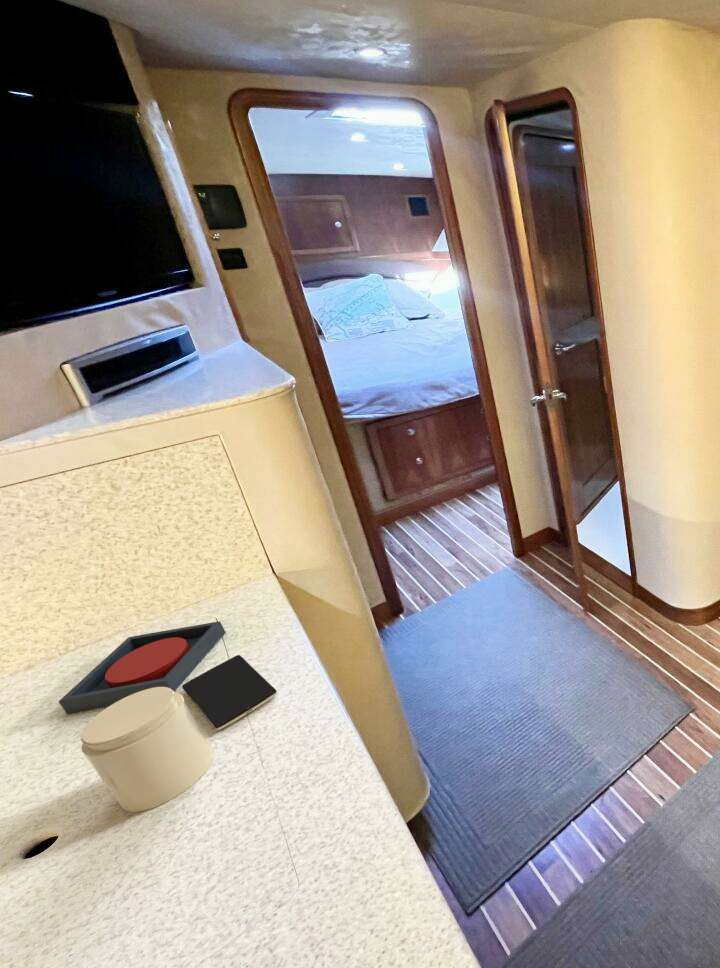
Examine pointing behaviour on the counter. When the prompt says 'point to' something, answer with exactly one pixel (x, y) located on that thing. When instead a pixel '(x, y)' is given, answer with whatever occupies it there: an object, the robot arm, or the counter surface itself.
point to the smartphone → (229, 691)
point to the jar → (147, 748)
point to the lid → (147, 662)
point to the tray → (99, 693)
